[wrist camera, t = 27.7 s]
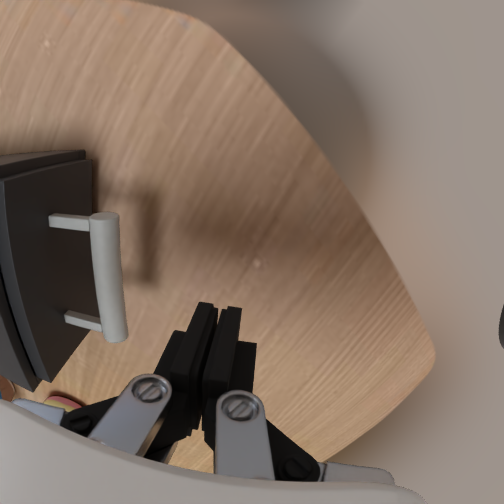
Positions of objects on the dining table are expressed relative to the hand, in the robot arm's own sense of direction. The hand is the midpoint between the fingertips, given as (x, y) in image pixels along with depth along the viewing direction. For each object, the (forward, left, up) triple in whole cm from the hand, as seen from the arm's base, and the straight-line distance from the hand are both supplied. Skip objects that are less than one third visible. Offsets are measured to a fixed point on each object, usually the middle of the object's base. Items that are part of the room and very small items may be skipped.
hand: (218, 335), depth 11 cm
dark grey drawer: (+10, -11, -7) cm, 16 cm away
